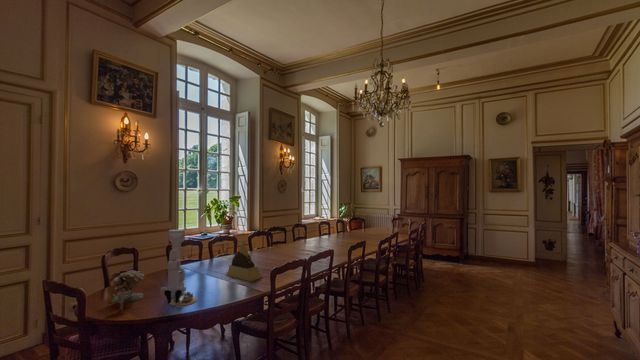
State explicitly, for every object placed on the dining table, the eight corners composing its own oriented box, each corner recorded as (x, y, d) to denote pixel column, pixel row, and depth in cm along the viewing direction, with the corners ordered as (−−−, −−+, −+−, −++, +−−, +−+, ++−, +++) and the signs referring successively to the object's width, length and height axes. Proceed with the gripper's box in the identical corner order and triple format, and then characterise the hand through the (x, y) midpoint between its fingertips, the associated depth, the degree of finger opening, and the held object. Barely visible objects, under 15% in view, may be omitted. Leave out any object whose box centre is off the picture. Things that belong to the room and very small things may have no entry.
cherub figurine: (121, 293, 220) (122, 267, 220) (149, 293, 221) (149, 266, 221) (106, 303, 202) (107, 274, 202) (137, 302, 203) (137, 273, 204)
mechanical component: (110, 311, 189) (111, 294, 189) (130, 306, 196) (130, 290, 196) (112, 312, 187) (112, 295, 187) (132, 308, 194) (132, 291, 194)
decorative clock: (262, 277, 259) (262, 239, 259) (250, 281, 248) (250, 242, 249) (238, 272, 275) (238, 236, 275) (226, 275, 264) (226, 238, 265)
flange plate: (176, 297, 213) (176, 295, 213) (200, 297, 213) (200, 295, 213) (164, 306, 197) (164, 304, 197) (191, 306, 197) (191, 304, 197)
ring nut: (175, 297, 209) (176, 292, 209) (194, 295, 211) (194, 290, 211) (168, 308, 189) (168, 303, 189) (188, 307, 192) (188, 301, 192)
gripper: (158, 282, 192) (157, 305, 192) (182, 282, 192) (182, 305, 192) (163, 278, 199) (163, 301, 199) (187, 278, 199) (187, 301, 199)
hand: (173, 302), depth 196 cm, fingers open, 4 cm apart
